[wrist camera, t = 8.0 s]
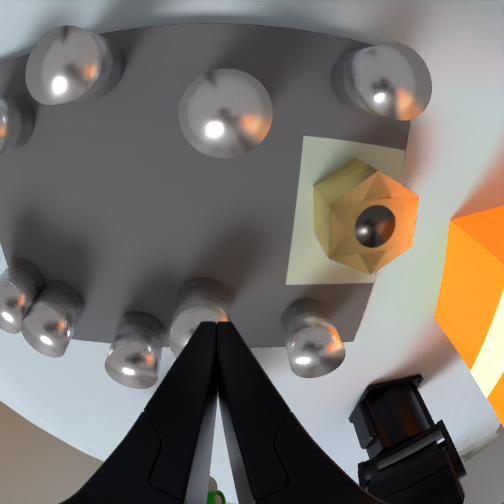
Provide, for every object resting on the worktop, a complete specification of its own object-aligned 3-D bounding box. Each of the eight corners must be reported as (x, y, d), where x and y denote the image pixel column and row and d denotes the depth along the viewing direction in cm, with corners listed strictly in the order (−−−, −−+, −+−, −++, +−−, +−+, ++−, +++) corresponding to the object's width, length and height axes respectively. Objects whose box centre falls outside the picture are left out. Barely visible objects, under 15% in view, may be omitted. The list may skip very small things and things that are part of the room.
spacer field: (391, 54, 11) (434, 49, 8) (333, 343, 19) (348, 382, 16) (-21, 77, 9) (-63, 84, 6) (35, 333, 17) (18, 368, 14)
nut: (394, 155, 13) (422, 169, 11) (387, 244, 16) (408, 268, 14) (311, 159, 13) (329, 174, 11) (313, 254, 16) (327, 283, 14)
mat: (409, 59, 11) (416, 58, 11) (350, 335, 20) (353, 341, 20) (-15, 73, 9) (-21, 74, 8) (38, 328, 18) (35, 333, 17)
